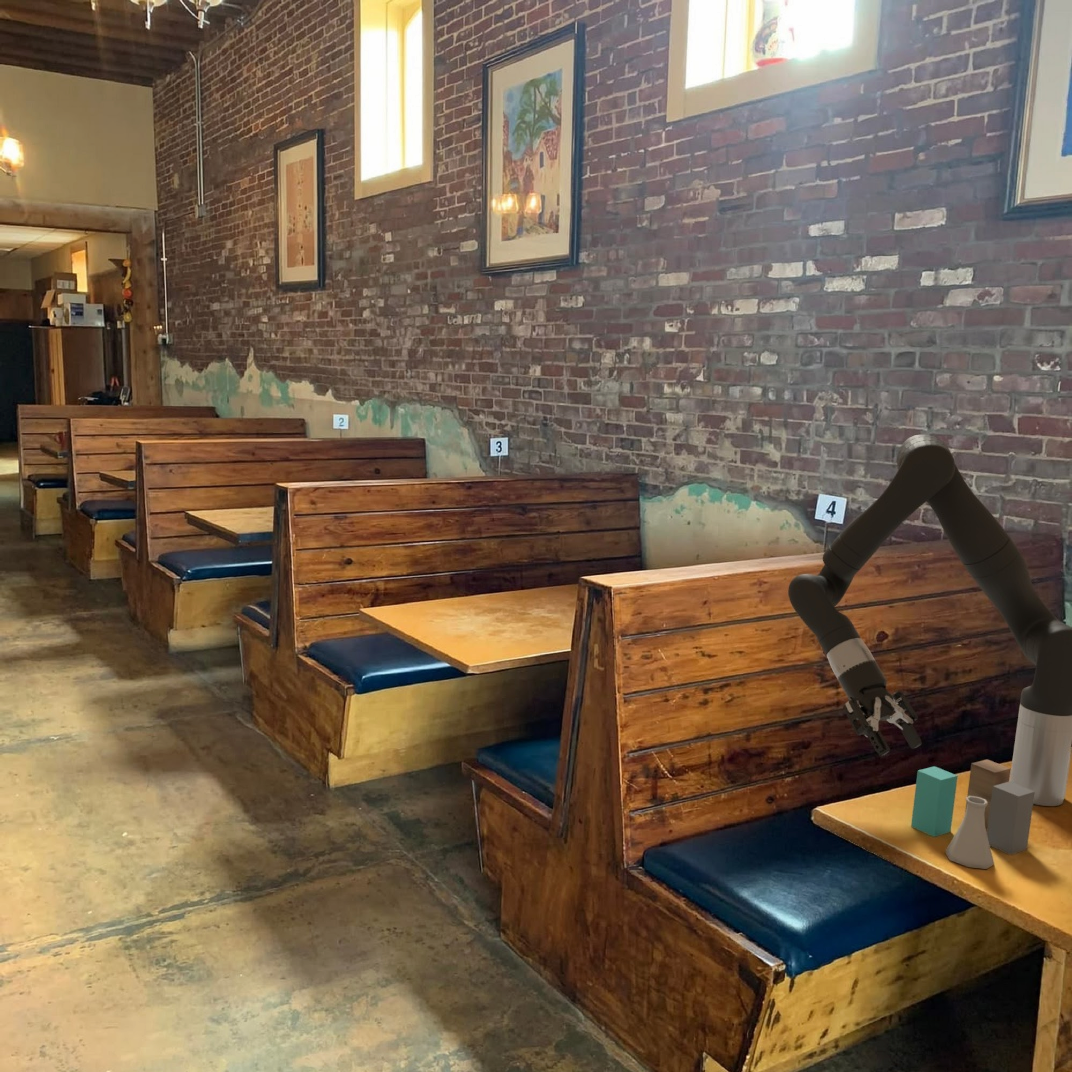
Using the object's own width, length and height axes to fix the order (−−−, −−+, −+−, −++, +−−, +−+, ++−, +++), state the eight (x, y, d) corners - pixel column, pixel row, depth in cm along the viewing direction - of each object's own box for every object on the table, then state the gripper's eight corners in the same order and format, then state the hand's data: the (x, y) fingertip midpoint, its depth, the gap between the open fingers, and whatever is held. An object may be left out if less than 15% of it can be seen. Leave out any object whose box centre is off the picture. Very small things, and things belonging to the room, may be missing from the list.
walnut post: (980, 812, 177) (987, 759, 175) (1003, 823, 173) (1010, 768, 171) (964, 817, 174) (971, 763, 173) (987, 827, 170) (995, 772, 169)
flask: (942, 862, 157) (950, 802, 155) (947, 844, 163) (954, 787, 162) (992, 874, 153) (1000, 813, 152) (995, 856, 160) (1003, 797, 158)
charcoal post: (1001, 838, 167) (1009, 781, 165) (1026, 849, 163) (1034, 791, 161) (985, 843, 164) (993, 786, 163) (1010, 854, 161) (1018, 796, 159)
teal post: (927, 821, 172) (934, 766, 170) (950, 831, 168) (957, 775, 166) (911, 826, 169) (917, 770, 168) (933, 837, 166) (940, 780, 164)
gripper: (842, 662, 175) (889, 746, 167) (895, 654, 182) (942, 734, 174) (816, 683, 180) (860, 765, 172) (868, 674, 187) (913, 753, 180)
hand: (901, 750), depth 173 cm, fingers open, 8 cm apart
